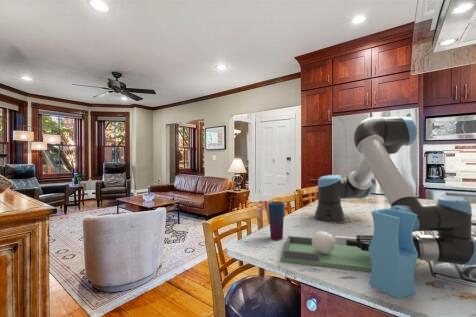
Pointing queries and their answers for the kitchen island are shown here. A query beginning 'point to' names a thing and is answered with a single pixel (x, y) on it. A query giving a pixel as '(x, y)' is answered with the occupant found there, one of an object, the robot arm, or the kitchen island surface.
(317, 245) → the ball
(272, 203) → the cup
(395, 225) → the vase
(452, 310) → the kitchen island surface
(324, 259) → the mat
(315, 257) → the grey u-shaped wall
